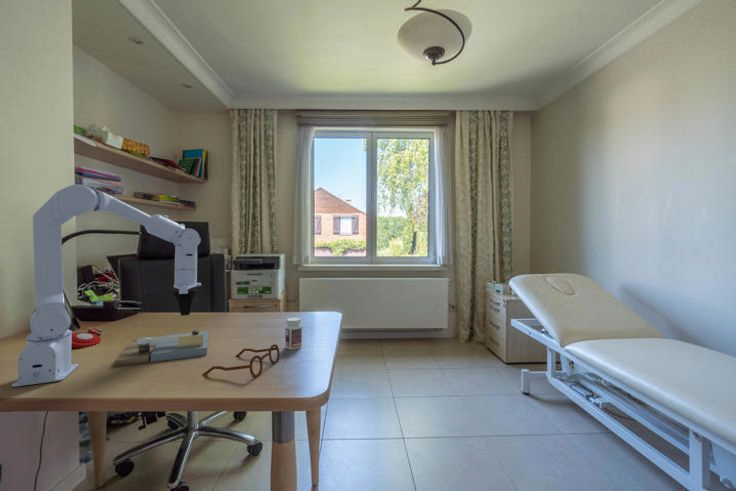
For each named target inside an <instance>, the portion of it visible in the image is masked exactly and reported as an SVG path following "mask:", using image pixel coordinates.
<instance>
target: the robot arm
mask: <svg viewBox="0 0 736 491" xmlns="http://www.w3.org/2000/svg"><path fill="white" fill-rule="evenodd" d="M91 210H93V212H94V213H111V214H114V215H116V216H119V217H122V218H124V219H126V220H129V221H131V222H134V223H137V224H138V225H140V226H141V225H142V226H143V227H144V229H145V231H146V232H147V233H148V234H150V235H152V236H155V237H157V238H159V239H162V240H164V241H167V242H169V243H172V244H173V245H174V246H175V247H174V250H175V252H174V282H173V283H174V284H173V288H174V289H177V290H175V291H174V292H173V295H174V297H175V298H176V301H177V304H178V309H179V313H180V315H181V316H190V313H191V311H192V305H193V302H194V301H193V300H194V298H195V296H196V293H197V289H195V288H196V287H200V286H201V287H202V283H201V282H198V246H199V245H200V243H201V241H202V238H201V237H200V234H199V233H198V231H197V230H196V229H193V228H186V225H185V224H184V223H180V224H179V223H178V222H176V221H174V220H172V219H170V218H169V215H166V214H162V215H161V214H153V215H150V214H148V213H146V212H144V211H142V210H140V209H139V208H136V207H135V206H133V205H130V204H128V203H126V202H124V201H122V200H120V199H118V198H116V197H114V196H112V195H110V194H108V193H105V192H103V191H101V190H97V189H93V188H92V187H90V186H87V185H84V184H77V183H76V184H72V185H68V186H65V187H64V188H62V189H58V190H57V191H56V192H54V194H53V195H52V196H51V197H50V198H48V200H47V201H46V202H45V203H44V204H43V205H42V206H40V208H39V209H38V210H37V211H36V212H35V213H34V214H33V215H32V237H33V238H32V242H33V265H34V266H33V267H34V293H35V294H34V296H35V298H34V299H35V300H34V302H35V304H34V305H35V306H34V310H33V311H32V313H30V317H29V323H30V325H29V326H30V327H29V328H30V331H31V333H29V334H27V335H26V345H25V347H24V348H23V350H21V352H20V354H19V355H18V358H17V360H18V364H17V365H18V369H17V372H18V373H17V374H18V376H17V377H18V378H17V381H16V382H13V383H11V388H16V387H22V386H30V385H31V386H32V385H36V384H37V385H38V384H44V383H51V382H52V383H53V382H60V381H63V380H65V379H66V377H68V376H69V375H70V374H71V373H72V372H73V371H74V370H76V369H77V368H78V367H79V366H80V365H79V363H75V364H72V347H71V344H72V333H73V331H72V330H70V327H71V325H72V319H71V315H69V313H68V310H67V309H66V307H65V306H66V305H65V294H64V275H63V274H64V272H63V269H64V268H63V266H64V265H63V244H62V243H63V240H62V225H64V224H65V223H67V222H68V221H70V220H72V219H73V218H74V217H76V216H79V215H82V214H85V213H87V212H89V211H91ZM192 288H194V289H192Z"/></svg>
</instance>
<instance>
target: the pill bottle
mask: <svg viewBox="0 0 736 491" xmlns="http://www.w3.org/2000/svg"><path fill="white" fill-rule="evenodd" d="M301 321H302V320H301V318H299V317H289V318H287V319H286V326H285V330H284V331H285V334H284V335H285V336H284V337H285V341H284V343H285V344H284V345H285V349H288V350H294V351H295V350H298V349H300V348H302V343H303V342H302V341H303V340H302V339H303V338H302V334H303V333H302V332H303V331H302V329H303V327H302V325H301Z"/></svg>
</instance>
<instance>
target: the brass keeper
mask: <svg viewBox="0 0 736 491" xmlns="http://www.w3.org/2000/svg"><path fill="white" fill-rule="evenodd" d="M196 346H203V334H198V335H188V336H179V337H178V348H187V347H196Z"/></svg>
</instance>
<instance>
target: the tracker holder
mask: <svg viewBox="0 0 736 491" xmlns="http://www.w3.org/2000/svg"><path fill="white" fill-rule="evenodd" d="M102 331H103V330H102V329H99V328H96V327H95V328H94V327H91V326H88V330H87V331H85V332H84V331H83V332H72V344H71V348H76V349H85V348H84V347H87V348H90V347H89V346H91V347H93V345H94V346H97V345H99V344H100V343H101V341H102V339H101V336H102V335H104V333H103V332H102ZM98 343H99V344H98ZM96 344H97V345H96Z"/></svg>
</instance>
